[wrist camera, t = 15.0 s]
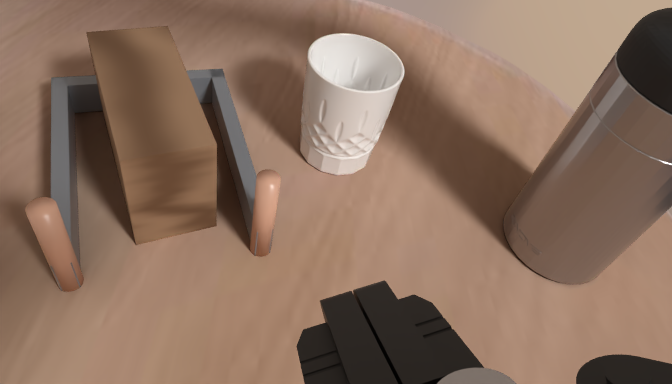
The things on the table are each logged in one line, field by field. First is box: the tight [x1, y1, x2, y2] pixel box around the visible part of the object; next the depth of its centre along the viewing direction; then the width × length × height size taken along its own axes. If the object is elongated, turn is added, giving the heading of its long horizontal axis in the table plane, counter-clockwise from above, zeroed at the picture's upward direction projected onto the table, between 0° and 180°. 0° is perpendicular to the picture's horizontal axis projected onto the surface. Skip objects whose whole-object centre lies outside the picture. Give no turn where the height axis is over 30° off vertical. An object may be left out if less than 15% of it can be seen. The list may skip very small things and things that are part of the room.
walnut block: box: [87, 26, 217, 245], centre depth 39 cm, size 6×14×9 cm, turn 25°
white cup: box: [300, 33, 404, 175], centre depth 44 cm, size 8×8×10 cm
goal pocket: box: [25, 69, 281, 292], centre depth 39 cm, size 15×19×8 cm
